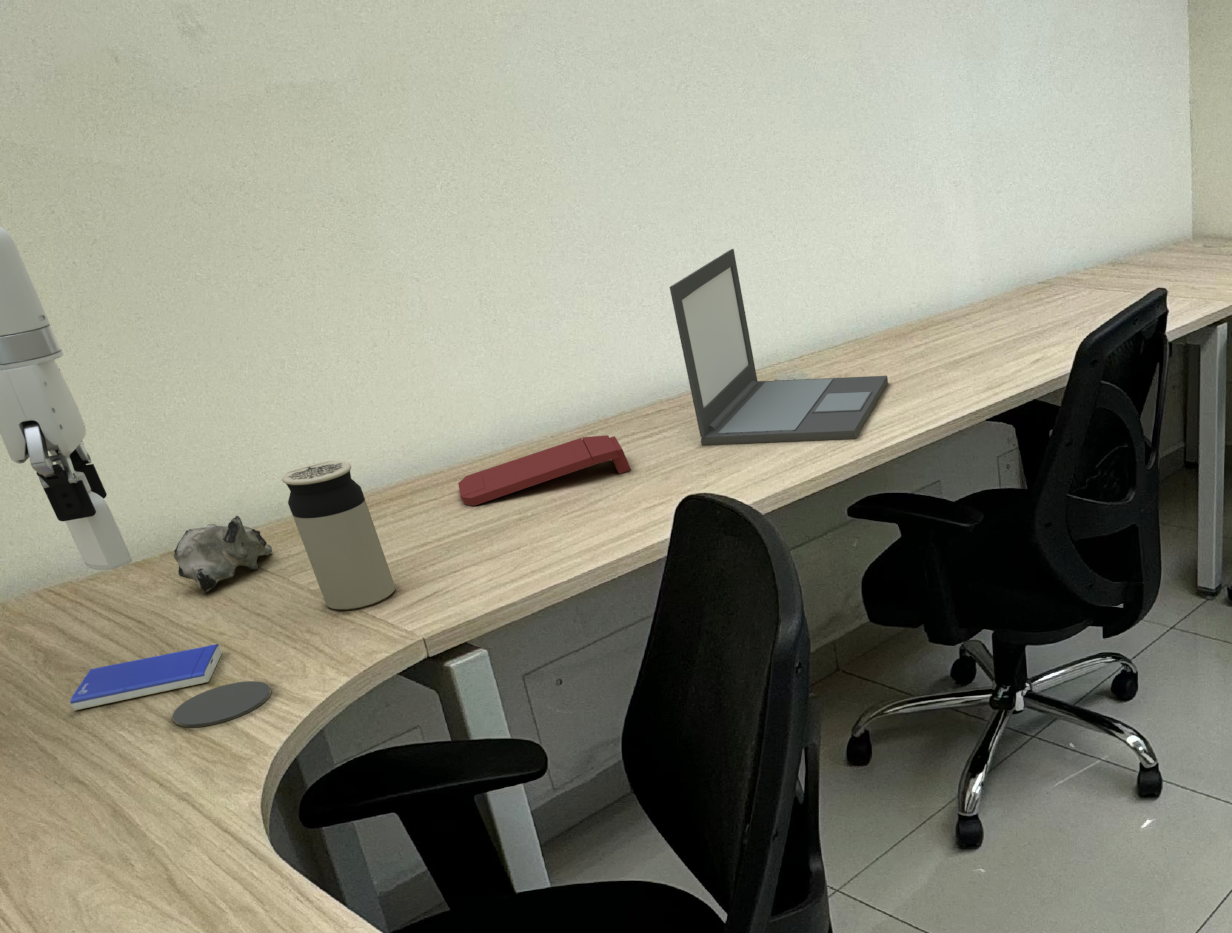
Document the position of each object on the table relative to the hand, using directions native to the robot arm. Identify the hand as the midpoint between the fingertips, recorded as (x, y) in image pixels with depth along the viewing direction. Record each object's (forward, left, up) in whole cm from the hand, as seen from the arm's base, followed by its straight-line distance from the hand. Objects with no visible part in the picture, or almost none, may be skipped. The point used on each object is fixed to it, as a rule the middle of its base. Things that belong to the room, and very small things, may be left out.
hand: (83, 507), depth 127 cm
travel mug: (+21, +9, -21) cm, 31 cm away
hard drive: (0, -2, -21) cm, 21 cm away
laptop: (+93, +54, -21) cm, 109 cm away
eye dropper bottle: (0, 0, -7) cm, 7 cm away
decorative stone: (+5, +29, -21) cm, 36 cm away
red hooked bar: (+47, +43, -21) cm, 67 cm away
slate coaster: (+8, -14, -21) cm, 26 cm away
